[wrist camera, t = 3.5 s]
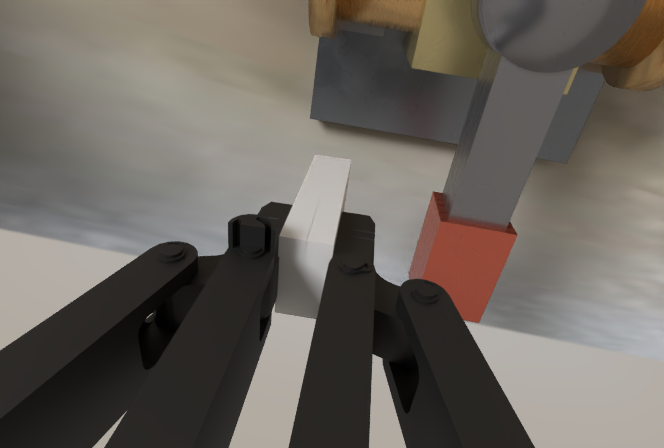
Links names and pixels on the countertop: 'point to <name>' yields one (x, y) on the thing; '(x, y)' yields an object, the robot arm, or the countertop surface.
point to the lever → (507, 134)
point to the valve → (450, 69)
